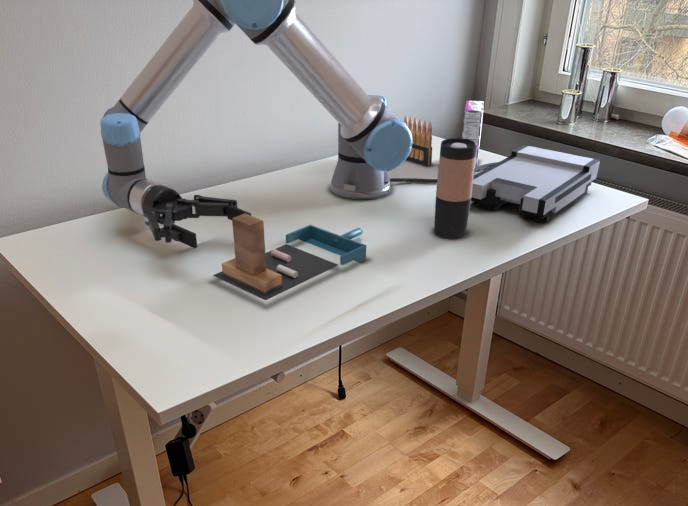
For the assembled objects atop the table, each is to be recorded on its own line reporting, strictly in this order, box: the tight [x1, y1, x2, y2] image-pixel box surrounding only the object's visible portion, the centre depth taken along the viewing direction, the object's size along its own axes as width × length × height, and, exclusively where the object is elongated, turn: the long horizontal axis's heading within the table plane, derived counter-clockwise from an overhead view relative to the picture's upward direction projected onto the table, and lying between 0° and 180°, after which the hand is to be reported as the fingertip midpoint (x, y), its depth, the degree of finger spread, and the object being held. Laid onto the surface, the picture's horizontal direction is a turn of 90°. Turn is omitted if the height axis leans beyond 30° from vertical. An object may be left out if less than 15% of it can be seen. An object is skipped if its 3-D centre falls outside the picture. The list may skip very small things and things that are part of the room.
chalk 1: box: [270, 248, 291, 262], centre depth 142 cm, size 1×5×1 cm, turn 48°
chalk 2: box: [277, 265, 298, 278], centre depth 136 cm, size 1×5×1 cm, turn 48°
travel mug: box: [433, 137, 477, 240], centre depth 152 cm, size 8×8×20 cm
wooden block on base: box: [221, 214, 282, 295], centre depth 131 cm, size 4×12×12 cm, turn 48°
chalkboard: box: [212, 243, 339, 301], centre depth 139 cm, size 20×15×2 cm
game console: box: [471, 144, 601, 224], centre depth 172 cm, size 21×32×8 cm, turn 142°
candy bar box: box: [461, 100, 485, 169], centre depth 193 cm, size 11×5×16 cm, turn 168°
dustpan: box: [285, 224, 367, 266], centre depth 149 cm, size 15×16×3 cm
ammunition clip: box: [403, 115, 433, 167], centre depth 197 cm, size 11×2×12 cm, turn 43°
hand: (223, 230), depth 133 cm, fingers open, 13 cm apart
